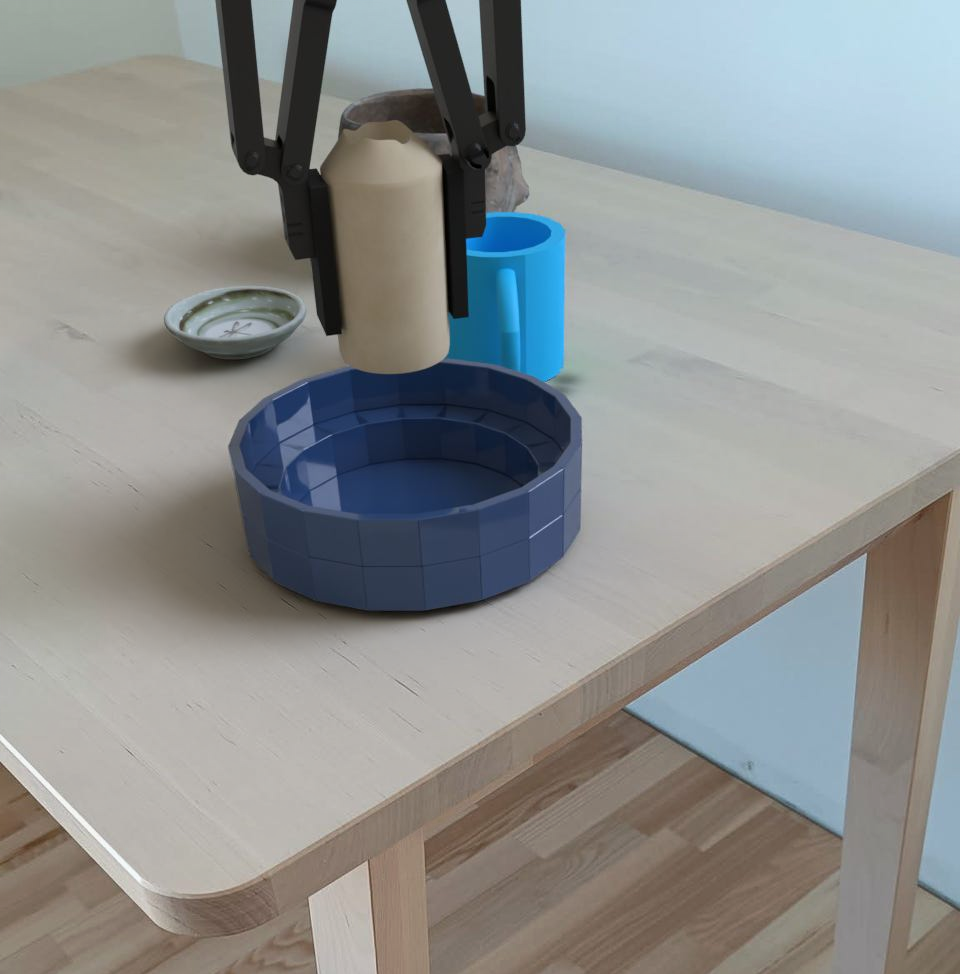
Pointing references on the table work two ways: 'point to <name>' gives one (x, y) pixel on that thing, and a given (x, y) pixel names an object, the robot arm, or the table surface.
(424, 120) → the bowl
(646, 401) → the table surface
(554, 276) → the mug
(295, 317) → the saucer
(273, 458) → the serving bowl
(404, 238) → the candle
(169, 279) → the table surface
